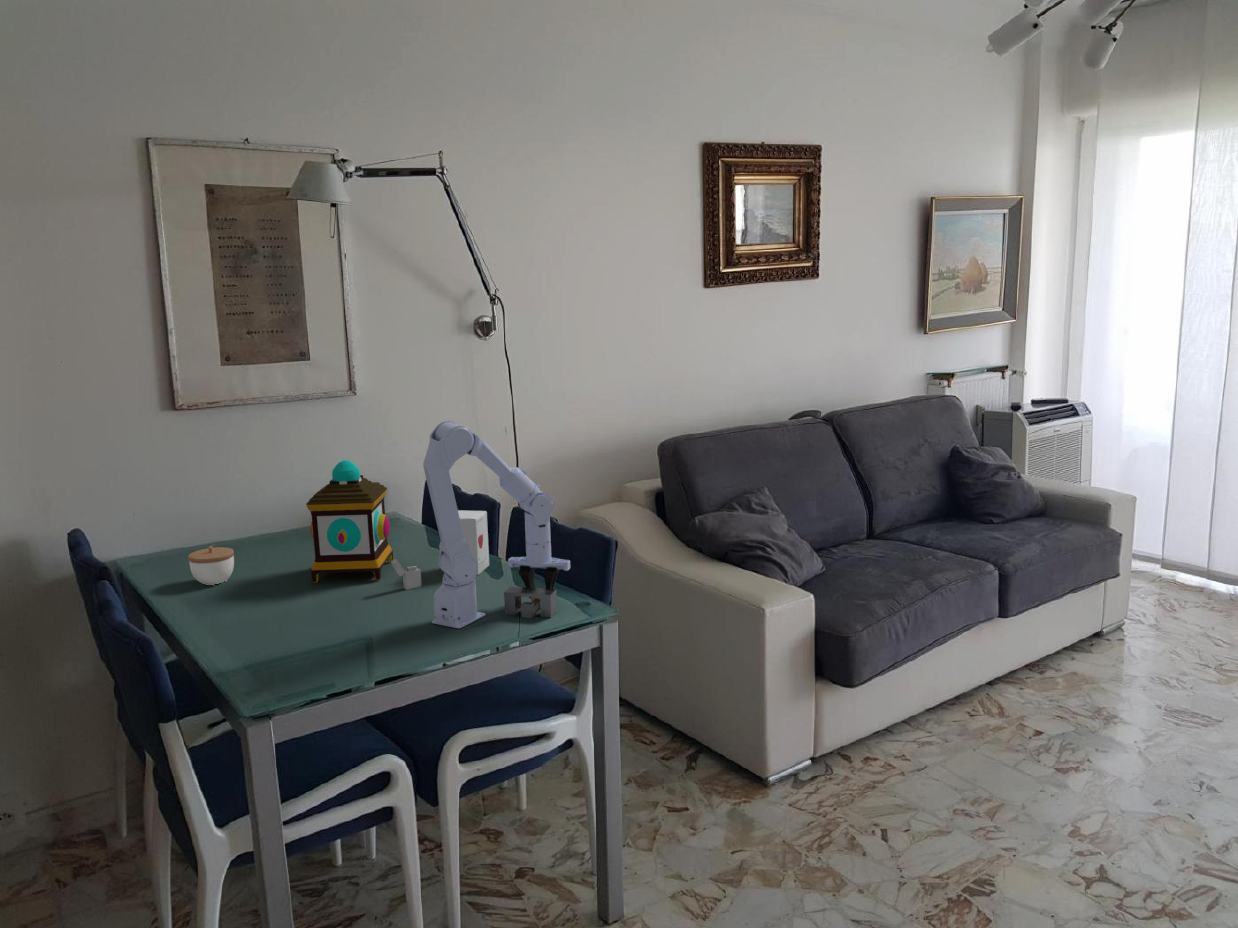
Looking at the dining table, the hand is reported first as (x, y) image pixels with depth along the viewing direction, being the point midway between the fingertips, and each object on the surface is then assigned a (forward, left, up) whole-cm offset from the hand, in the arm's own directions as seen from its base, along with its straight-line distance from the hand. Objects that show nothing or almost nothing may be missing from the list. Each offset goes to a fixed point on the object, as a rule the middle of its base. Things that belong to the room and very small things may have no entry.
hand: (540, 597), depth 221 cm
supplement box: (+14, +32, -2) cm, 35 cm away
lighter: (-5, +36, -2) cm, 37 cm away
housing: (-6, -2, -1) cm, 7 cm away
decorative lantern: (-1, +58, -2) cm, 58 cm away
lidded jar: (-23, +85, -2) cm, 88 cm away
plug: (-4, -1, -1) cm, 4 cm away
